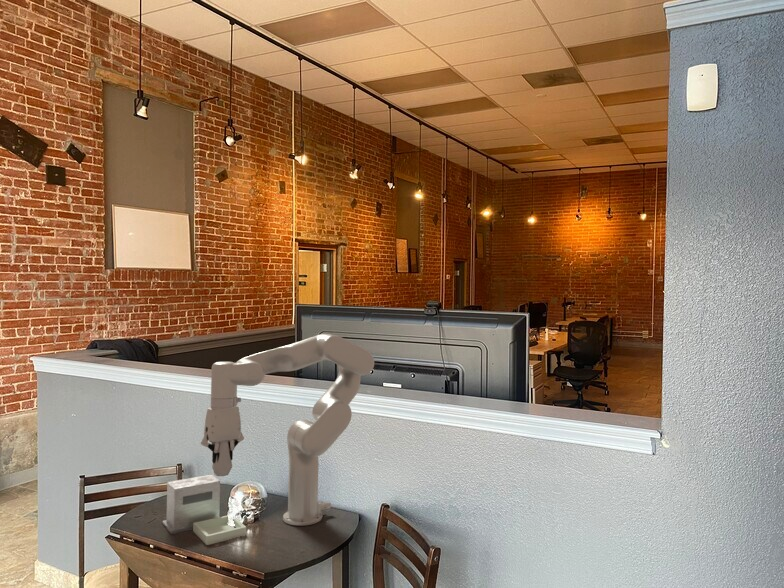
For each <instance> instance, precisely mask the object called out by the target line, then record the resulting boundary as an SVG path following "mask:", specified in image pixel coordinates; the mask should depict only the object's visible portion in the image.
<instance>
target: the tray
mask: <svg viewBox="0 0 784 588" xmlns="http://www.w3.org/2000/svg"><path fill="white" fill-rule="evenodd" d="M228 515H229V514H228ZM228 515H223V516H220V517H218V518H214V519H209V520H205V521H200V522H196V523H193V529H192V532H193V533H194V534H195V535H196V536H197V537H198V538H199V539H200V541H202V542H203V544H205V546H210V545H213V544H218V543H220V542H225V541H226V542H227V541H229V539H230V540H233V539H232V538H234V539H237V538H236V537H238V538H241V537H240V536H242V537H245V536H244V535H246V536H247V526H246V525H245V524H243V523H242V522H241V521H240V520H239V519H237V518H236V519H233V521H234V524H235V527H236V528H234V527H230V526H228V524H227V522H228Z"/></svg>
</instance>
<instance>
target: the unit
mask: <svg viewBox="0 0 784 588" xmlns="http://www.w3.org/2000/svg"><path fill="white" fill-rule="evenodd" d="M220 495H221V480H220V479H218V478H217V476H214V475H213V474H207V475H201V476H200V475H199V476H195V477H189V478H183V479H177V480H172V481H167V483H166V520H165V519H164V520H162V521H161V523H162V525H163V527H165V529H166V530H167V531H168V532H169V534H171V535H174V534H178V533H182V532H187V531H191V530H192V531H193V523H196V522H200V521H205V520H209V519H214V518H218V517H221V516H220V509H221V507H220V506H221V505H220V500H221V499H220V497H221V496H220Z"/></svg>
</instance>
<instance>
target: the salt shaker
mask: <svg viewBox="0 0 784 588" xmlns="http://www.w3.org/2000/svg"><path fill="white" fill-rule="evenodd" d="M229 451H230V450H229V443H228V441H224V442H219V448H218V452H217V453H219V460H218V462H217V456H216V462H215V463H213V462H212V464H211V467H212V468H211V469H212V471H213V474H214V475H215V477H226V476H229V474H230V472H231V470H232V469H233V462H232V461H233V460H231V459H230V454H229Z"/></svg>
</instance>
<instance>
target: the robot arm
mask: <svg viewBox="0 0 784 588" xmlns="http://www.w3.org/2000/svg"><path fill="white" fill-rule="evenodd" d="M322 361H330V362H332V364H333V363H334V364H336V365H337V368H338V373H337V377H336V379H335V380H334V381H333V383H332V385H331V386H330V387H329V388H328V389H327V390H326V391H325V393H323V394H322V395H321V396H320V398H319V399H318V400H317V401H316V403H314V405H313V407H312V409H311V410H312V411H311V413H312V416H313V419H314V420H315V421H314V422H312V421H310V420H308V419H299V420H296V421H294V422H293V423H292V424H291V425H290V427H288V428H289V429H288V431H287V436H286V437H287V438H286V440H287V441H286V442H287V450H288V490H287V493H288V494H287V511H286V512H285V513H283V515H282V521H283V522H284V523H285V524H288V525H291V526H297V527H298V526H310V525H311V526H312V525H315V524H317V523H319V522H321V520H322V519H323V513H322V512H323V510H327V509H330V508H332V504H331V502H330V501H327V502H324V501H319V456H322V455H323V454H325V453H326V452H327V451H328V450H329V449H330V447H332V445H333V444H334V443H335V442H336V441H337V439H338V438H339V437H340V436H341V435H342V434H343V433H344V432H345V430H346V429H347V428H348V426H349V425H350V423H351V420H352V416H353V415H352V414H353V413H352V408H351V406H350V403H351V402H352V401H353V400H354V398H355V397H356V396H357V394H358V392H359V390H360V387H361V377H362V376H366V375H369V374H370V373H371V372H372V371H373V369H374V367H375V358H374V356H373V355H372V353H371V352H369V350H367V349H365V348H363V347H361V346H359V345H357V344H355V343H353V342H351V341H349V340H348V339H345V338H344V337H342V336H339V335H336V334H330V333H320V334H317V335H314V336H311V337H308V338H305V339H303V340H300V341H296V342H292V343H291V344H287V345H283V346H279V347H276V348H273V349H268V350H265V351H261V352H258V353H253V354H250V355H249V356H245V357H242V358H241V359H239V360H237V361H236V362H235V361H234V362H233V361H216V362H214V363H213V364H212V365H211V379H210V380H211V381H210V382H211V384H210V387H211V388H210V407H207V410H206V414H205V418H204V419H205V421H204V427H203V428H204V429H203V438H202V440H201V441H200V445H201V446H202V447H205V448H208V449H209V450H210V451H212V459H211V461H212V464H213V463H215V462H216V456H217V462H218V460H219V453H217V452H218V448H219V442H224V441H228V443H229V450H230V451H229V454H230V459H231V461H233V456H234V455H233V451H234V450H235V448H236V447H237V445H238V444H239V443H241V442H242V441H244V439H245V437H244V435H243V433H242V421H241V413H240V409H239V406H238V403H240V402H242V399H241V397H238V386H245V387H254V386H258V385H259V384H261V383H262V382H263V381H264V379H265V377H266V375H268V374H272V373H277V372H293V371H299V370H301V369H303V368H306V367H309V366H311V365H315V364H317V363H320V362H322Z"/></svg>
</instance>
